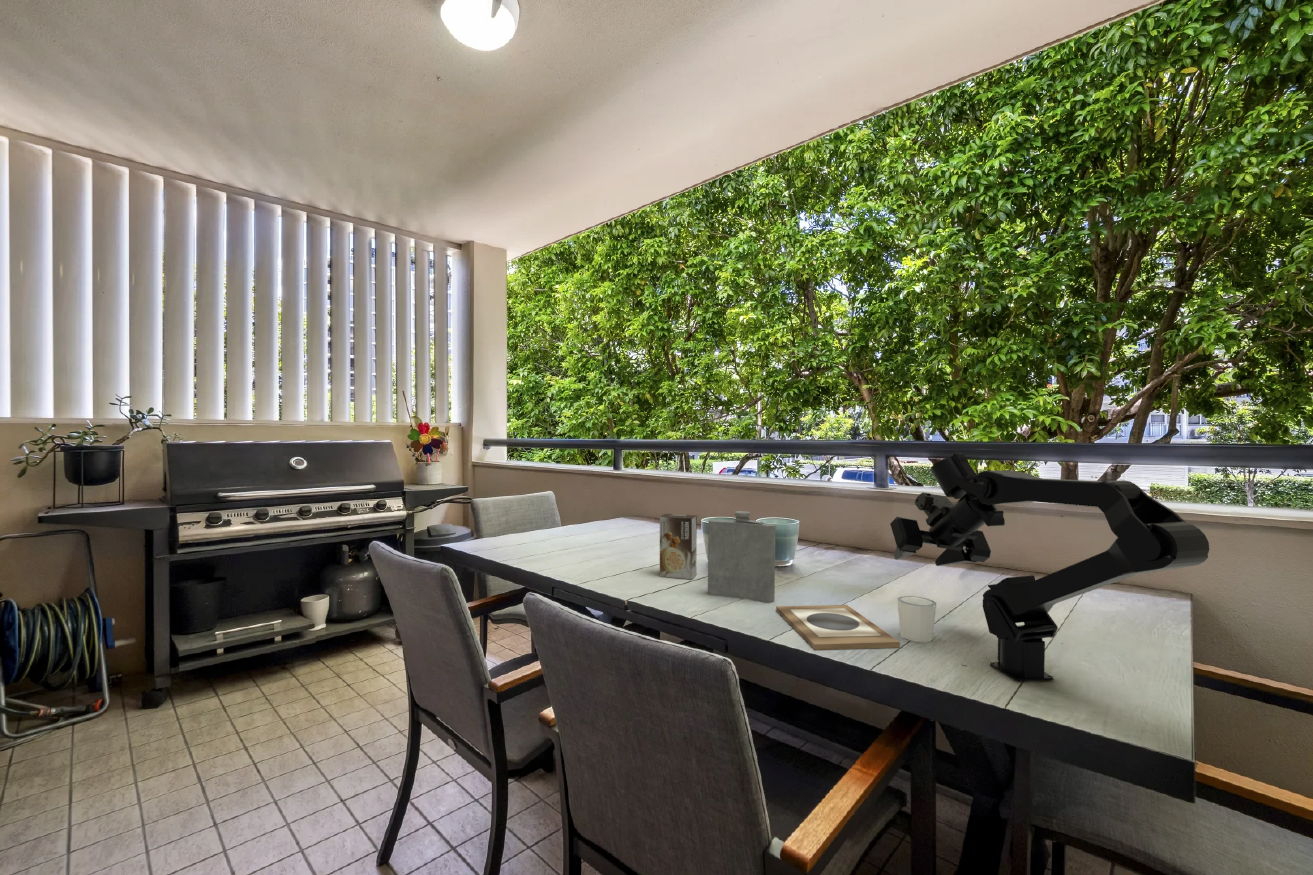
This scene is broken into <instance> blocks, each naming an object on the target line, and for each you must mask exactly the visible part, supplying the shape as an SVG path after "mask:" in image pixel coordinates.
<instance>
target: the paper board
mask: <svg viewBox="0 0 1313 875" xmlns="http://www.w3.org/2000/svg"><path fill="white" fill-rule="evenodd" d="M775 612H777V614H779V615H780V616H781V618H783V620H785V622H786V623H787V624H789V626H790V627H792V629H793V630H794V631H795V632H796V633H797V634H798V635H799V636H800V637H801V638H802V639H803V640H804V641H805V642H806V643H807V644H808V645H809V646H810V647H811V648H812V649H813V651H824V650H825V651H826V650H827V651H828V650H829V651H830V650H857V649H858V650H861V649H865V650H866V649H892V648H893V649H895V648H899V649H900V648H901V642H900V641H899V640H897V638H895V637H894V636H892V635H891V634H890V633H888V632H886V631H885V630H883V629H882V628H881V627H880V626H878V625H877V624H875V623H873V622H872V621H871V620H870V619H868V618H867V617H865V615H864V616H863V615H862V614H860V613H859V612H858V611H857V610H855V609H854V608H852V607H851V606H849V605H848V604H829V605H828V604H827V605H825V604H823V605H818V604H817V605H777V606H775Z"/></svg>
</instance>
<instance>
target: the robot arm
mask: <svg viewBox="0 0 1313 875" xmlns="http://www.w3.org/2000/svg"><path fill="white" fill-rule="evenodd" d="M930 472H931V474H932V475H933V477H934V479H935V481H936V482H937V483H938V485H939V487H940V488H941V490H942V491H943V492H942V493H944V495H945V496H944V495H939V494H934V493H929V492H924V491H923V492H921V493H920V494H919V495H917V497H916V498H915V500H914V505H915V506H916V508H917V509H918V510H919V511H922V512H924V514H925V515H926V516H927V518H925V522H926V525H927V526H929V527H928V531H927V530H922V529H920V526H919V524H918V523H919V522H918V520H917V519H914V518H908V517H903V516H896V517H895V518H894V519H893V520H892V521H891V522H890V523H889V525H890V529H891V531H892V532H891V533H892V534H893V538H894V542H895V544H896V546H895V550H894V554H893V557H894V559H895V560H896V561H898V560H902V559H904V558H906V557H910V556H913V555H914V554H917V551H919V550H920V549H921V548H923V544H924V545H929V546H930V545H932V546H936V548H937V549H939V548H940V549H945V550H944V551H942V553H941V554H939V555H938V557H937V558H936V560H934V564H935V566H937V567H943V566H948V565H949V566H950V565H958V564H968V563H977V562H979V563H985V562H986V561H987V560H988V559H990V558H991V554H992V550H991V547H990V546H989V543H988V541H987V538H986V536H985V534H984V532H983V531H982V530H980V529H981V528H982V527H983V526H984V525H986V526H987V527H1003V526H1005V525H1006V523H1005V522H1006V521H1005V517H1004V510H1000V509H999V508H998V507H997V505H1017V504H1027V503H1033V502H1034V503H1035V502H1036V503H1045V504H1057V505H1068V506H1069V505H1070V506H1080V507H1081V506H1082V507H1093V508H1098V509H1099V510H1100V511H1101V512H1102V513H1103V515H1104V517H1105V519H1106V521H1107V523H1108V526H1109V527H1110V531H1111V532H1112V533H1113V534H1114V535H1115V536H1116V539H1115V540H1114V541H1113V542H1112V544H1111V545H1110V546H1109V548H1107V549H1106V550H1105V551H1102V552H1101V553H1098V554H1095V555H1093V556H1090V557H1088V558H1086V559H1083V560H1081V561H1078V562H1076V563H1074V564H1071V565H1068V566H1066V567H1064V568H1062V569H1059V570H1056V571H1054V572H1051V573H1049V574H1047V575H1043V576H1042V577H1039V578H1037V579H1036V578H1035V575H1034V574H1032V575H1022V576H1021V575H1020V576H1010V577H1009V576H1008V577H1006V578H1005V577H1004V578H1003V579H1001V580H1000V581H999V582H997V583H994V584H987V587H988V588H989V589H987V590H986V591H984V592H983V594H982V609H983V613H984V616H985V620H986V624H987V628H988V631H989V634H991V635H993V636H995V637H996V638H997V661H990V662H989V666H990V667H991V668H994V669H995V670H997V672H1000V673H1001V674H1004V676H1006V677H1008V678H1010V679H1011V680H1013V681H1014V682H1020V683H1021V682H1039V681H1041V682H1043V681H1044V682H1045V681H1046V682H1047V681H1054V676H1053V675H1050V673H1048V672H1046V671H1045V665H1046V664H1045V662H1046V660H1045V659H1046V658H1045V657H1046V641H1044V640H1043V639H1048V638H1050V639H1051V638H1055V635H1056V633H1057V631H1058V628H1059V627H1058V625H1057V624H1056V622H1055V621H1054V620H1053V618H1052V616H1050V614H1049V612H1050V611H1051V609H1052V608H1053V606H1055V605H1056V604H1058V603H1061V602H1064V601H1066V600H1070V599H1073V598H1074V597H1078V596H1081V595H1083V594H1086V593H1089V592H1092V591H1095V590H1097V589H1101V588H1102V587H1106V586H1108V585H1111V584H1113V583H1116V582H1119V581H1123V580H1125V579H1128V578H1130V577H1133V576H1136V575H1141V574H1142V575H1143V574H1148V573H1155V572H1163V571H1169V570H1170V571H1171V570H1176V569H1182V568H1188V567H1190V568H1191V567H1195V566H1199V565H1201V564H1203V563H1204V562H1205V561H1206V560H1207V559H1208V558H1209V552H1210V542H1209V540H1208V538H1207V536H1206V534H1205V533H1204V532H1203V531H1202V530H1201V529H1200V528H1199V527H1197V526H1195V525H1194V524H1191V523H1188V522H1186V521H1185V520H1184V519H1183V517H1181V516H1180V515H1179V514H1178V513H1177V512H1175V510H1172V509H1171V508H1169V507H1167V506H1165V505H1164V504H1162V503H1161V502H1159V501H1157V500H1156V499H1154V498H1152V497H1151V496H1150V495H1148V494H1147V493H1146V492H1145V491H1144V490H1143V489H1142V488H1141V487H1140V486H1138V485H1137V484H1136V483H1134V482H1132V481H1129V480H1124V479H1123V480H1083V479H1063V478H1042V477H1038V476H1036V475H1033V474H1030V473H1027V472H1022V471H1017V470H1013V469H1011V470H982V471H980V472H978V473H977V474H976V472H975V470H974V469H973V467H972V466H971V464H970V463H969V461H968V458H967V457H966V455H965V454H964V453H963V452H962V453H961V452H959V453H958V452H957V453H956V452H954V453H953V454H952V455H951V456H949V457H946V458H943V459H941V460H939V461H938V462H937V461H936V462H934V464H933V465H932V466H931V468H930ZM949 498H953V499H955V500H957V501H956V502H955V503H952V502H951V500H950V499H949ZM1018 623H1019V624H1020V625H1017V624H1018ZM1021 623H1023V624H1021Z"/></svg>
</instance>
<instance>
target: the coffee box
mask: <svg viewBox="0 0 1313 875" xmlns="http://www.w3.org/2000/svg"><path fill="white" fill-rule="evenodd" d="M697 518H698V516H697V515H694V514H678V513H677V514H676V513H664V514H662V515H661V516H659V577H660V578H671V579H672V578H673V579H674V578H675V579H686V580H693V579H694V578H695V577H696V576H697V574H698V573H697V569H698V568H697V554H698V553H697V547H698V546H697V538H698V537H697V523H698V522H697V521H698V520H697Z"/></svg>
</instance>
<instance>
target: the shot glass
mask: <svg viewBox="0 0 1313 875" xmlns="http://www.w3.org/2000/svg"><path fill="white" fill-rule="evenodd" d="M936 610H937V602H936V601H934V600H932V599H930V598H926V597H922V596H916V595H903V596H898V597H897V611H898V623H899V624H898V625H899V634H900V637H901V638H902V639H904V638H906V639H908V640H907V641H910V640H911V641H910V642H914V641H916V642H915V643H929V642H932V641H933V637H934V628H935V621H936V620H935V619H936V612H937V611H936ZM906 639H905V640H906ZM931 640H932V641H931Z"/></svg>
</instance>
